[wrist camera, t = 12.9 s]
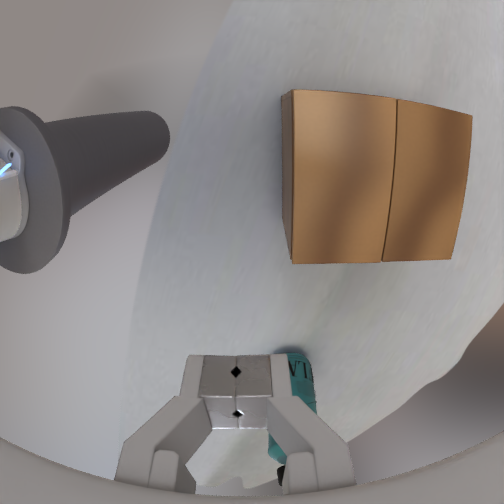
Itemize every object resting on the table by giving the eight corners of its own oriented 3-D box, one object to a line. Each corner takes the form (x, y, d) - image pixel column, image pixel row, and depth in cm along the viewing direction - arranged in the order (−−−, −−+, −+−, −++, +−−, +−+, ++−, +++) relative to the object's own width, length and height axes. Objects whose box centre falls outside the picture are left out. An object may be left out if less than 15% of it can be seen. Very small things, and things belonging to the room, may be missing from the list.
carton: (282, 218, 32) (291, 264, 23) (281, 96, 26) (292, 88, 17) (406, 218, 32) (451, 260, 23) (416, 108, 26) (473, 115, 17)
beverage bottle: (317, 349, 41) (339, 475, 23) (297, 376, 44) (307, 492, 26) (277, 339, 40) (283, 473, 22) (259, 367, 43) (257, 489, 25)
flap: (291, 261, 23) (292, 264, 23) (292, 89, 18) (293, 89, 17) (379, 260, 23) (380, 262, 23) (394, 98, 17) (396, 98, 17)
